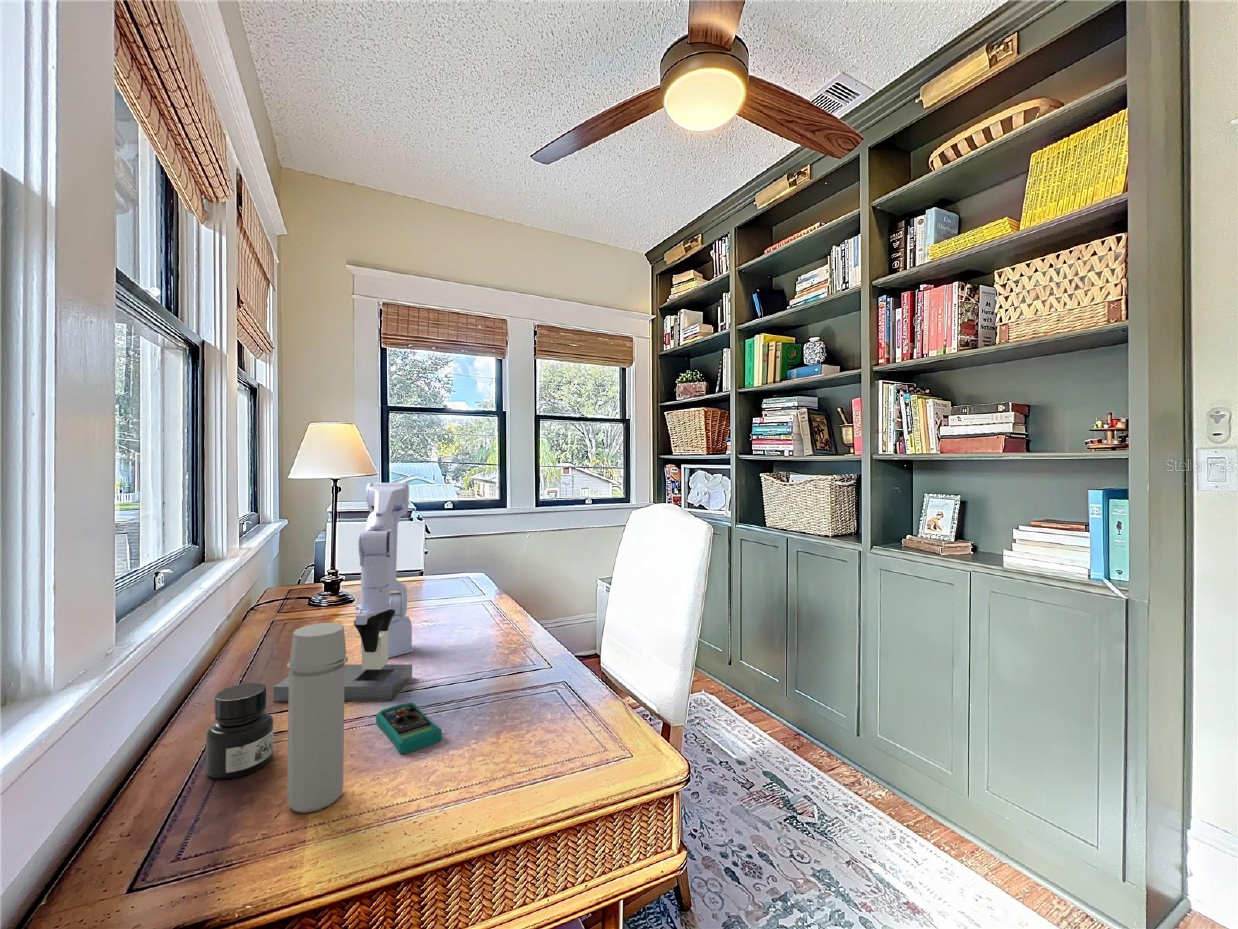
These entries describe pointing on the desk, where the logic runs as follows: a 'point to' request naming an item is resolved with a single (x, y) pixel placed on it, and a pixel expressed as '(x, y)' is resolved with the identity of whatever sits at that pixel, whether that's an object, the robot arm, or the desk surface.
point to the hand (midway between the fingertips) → (374, 647)
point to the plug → (376, 653)
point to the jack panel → (364, 683)
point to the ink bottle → (239, 732)
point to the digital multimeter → (408, 727)
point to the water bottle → (316, 716)
